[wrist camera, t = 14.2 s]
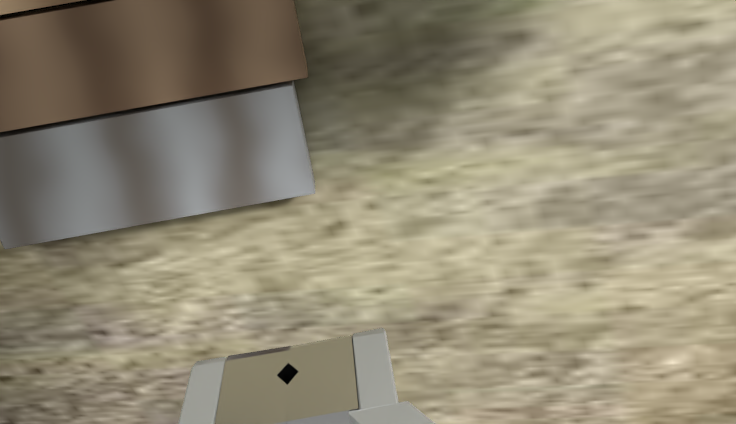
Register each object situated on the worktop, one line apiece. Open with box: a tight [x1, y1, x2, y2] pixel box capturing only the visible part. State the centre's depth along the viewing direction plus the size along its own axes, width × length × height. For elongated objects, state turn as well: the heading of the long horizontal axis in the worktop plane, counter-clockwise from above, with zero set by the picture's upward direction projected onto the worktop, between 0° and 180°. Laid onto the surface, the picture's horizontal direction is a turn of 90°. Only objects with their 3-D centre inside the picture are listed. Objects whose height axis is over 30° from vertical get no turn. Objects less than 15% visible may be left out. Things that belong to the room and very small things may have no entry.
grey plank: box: [0, 80, 315, 249], centre depth 39 cm, size 20×7×2 cm, turn 99°
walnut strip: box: [0, 0, 308, 132], centre depth 36 cm, size 22×6×2 cm, turn 99°
